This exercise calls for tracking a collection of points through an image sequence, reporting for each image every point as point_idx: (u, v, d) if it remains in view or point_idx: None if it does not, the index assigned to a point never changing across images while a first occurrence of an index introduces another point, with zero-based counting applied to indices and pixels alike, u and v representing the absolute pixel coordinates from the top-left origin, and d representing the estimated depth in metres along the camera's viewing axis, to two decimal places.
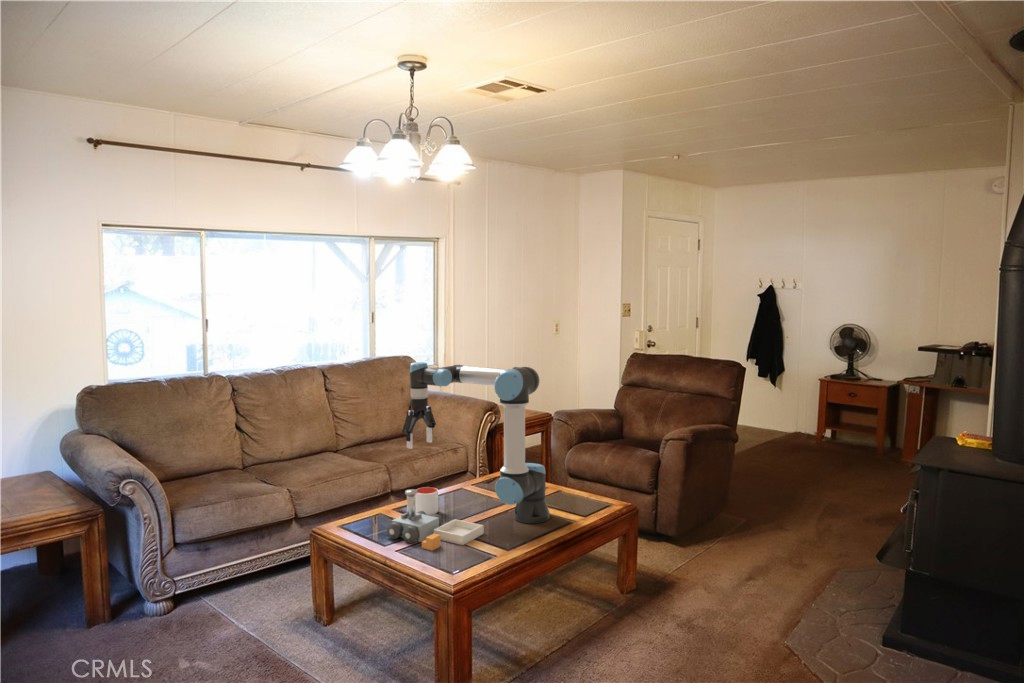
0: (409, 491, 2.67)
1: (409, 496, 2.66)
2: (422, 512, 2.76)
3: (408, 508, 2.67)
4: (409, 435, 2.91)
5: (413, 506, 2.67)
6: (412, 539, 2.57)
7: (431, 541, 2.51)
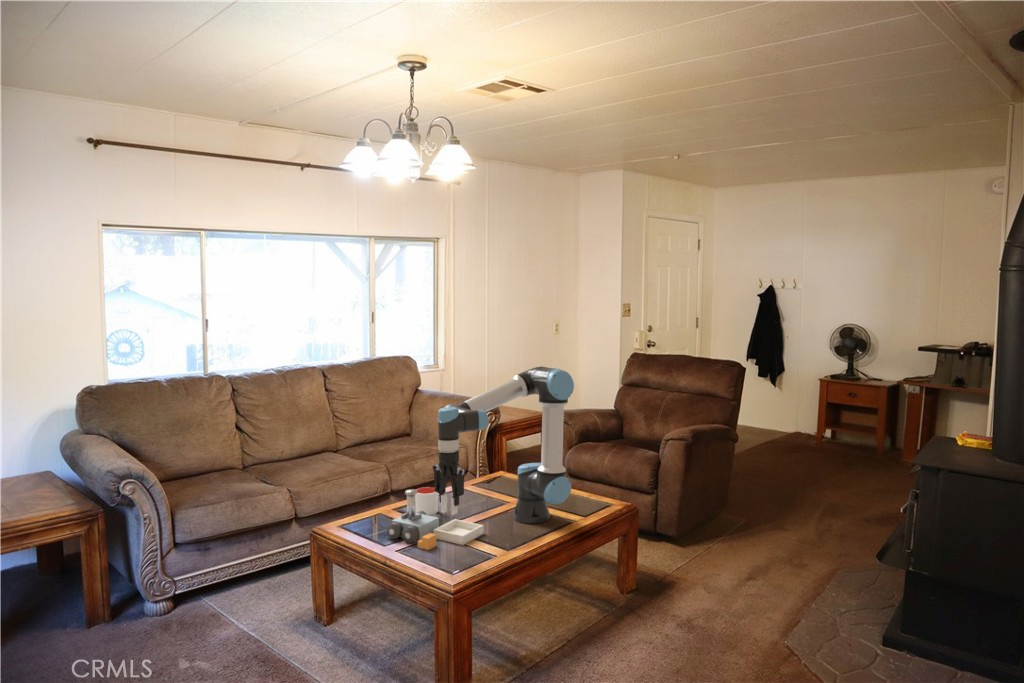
0: (409, 491, 2.67)
1: (409, 496, 2.66)
2: (422, 512, 2.76)
3: (408, 508, 2.67)
4: (440, 496, 2.49)
5: (413, 506, 2.67)
6: (412, 539, 2.57)
7: (427, 541, 2.51)
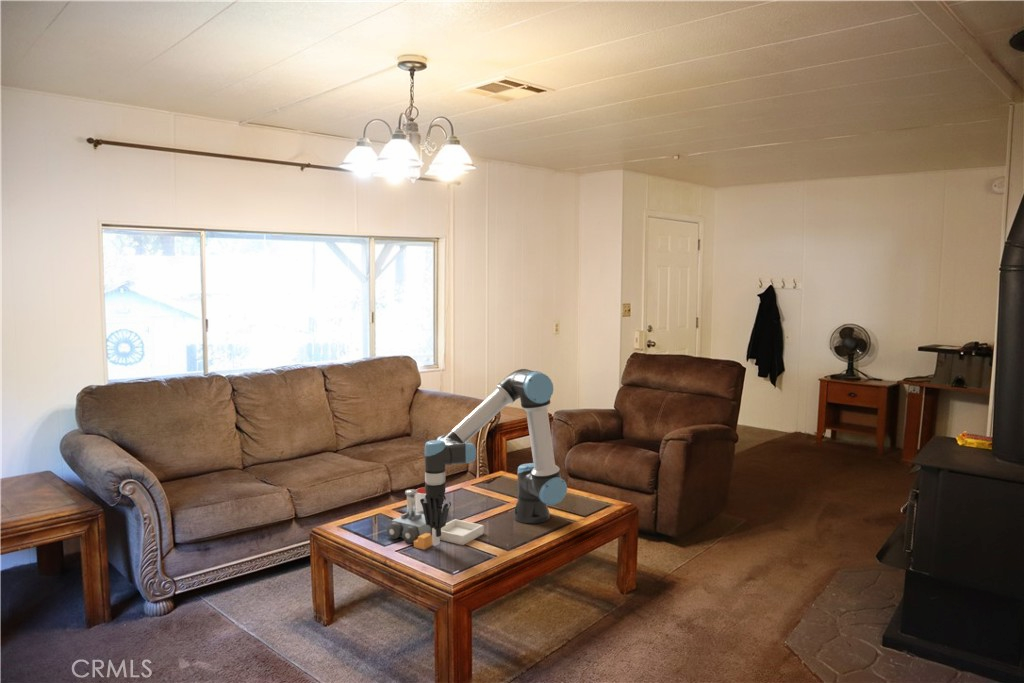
0: (409, 491, 2.67)
1: (409, 496, 2.66)
2: (422, 512, 2.76)
3: (408, 508, 2.67)
4: (431, 529, 2.52)
5: (413, 506, 2.67)
6: (412, 539, 2.57)
7: (423, 540, 2.52)
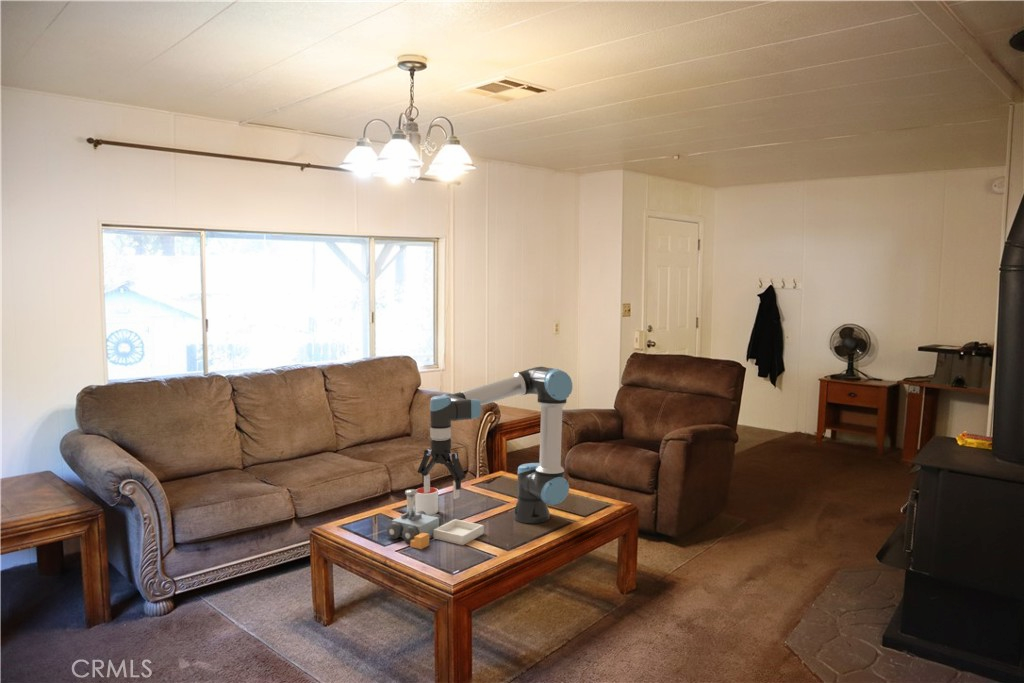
0: (409, 491, 2.67)
1: (409, 496, 2.66)
2: (422, 512, 2.76)
3: (408, 508, 2.67)
4: (423, 477, 2.53)
5: (413, 506, 2.67)
6: (412, 539, 2.57)
7: (420, 540, 2.52)
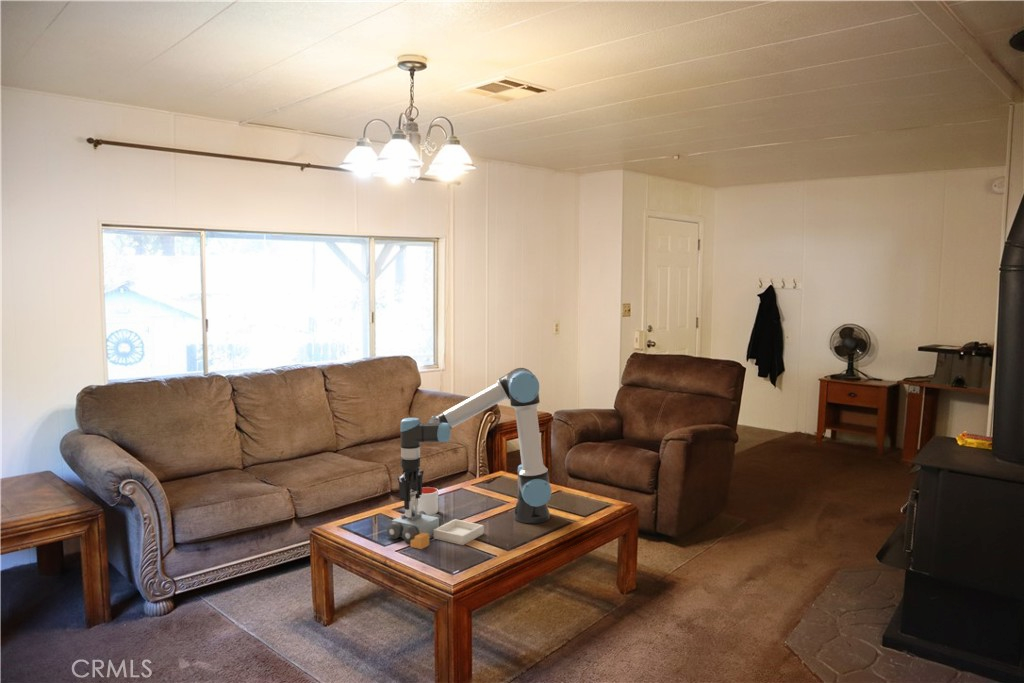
0: None
1: None
2: (422, 512, 2.76)
3: None
4: (408, 503, 2.65)
5: (413, 506, 2.67)
6: (412, 539, 2.57)
7: (420, 540, 2.52)
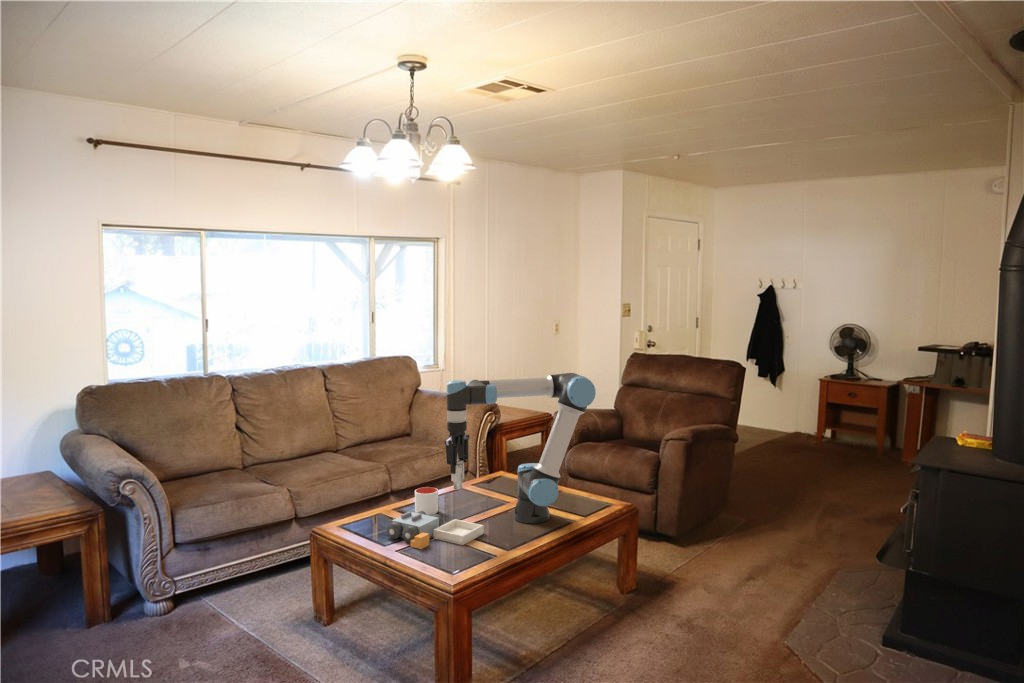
0: None
1: None
2: (422, 512, 2.76)
3: None
4: (454, 467, 2.60)
5: (460, 476, 2.62)
6: (412, 539, 2.57)
7: (420, 540, 2.52)
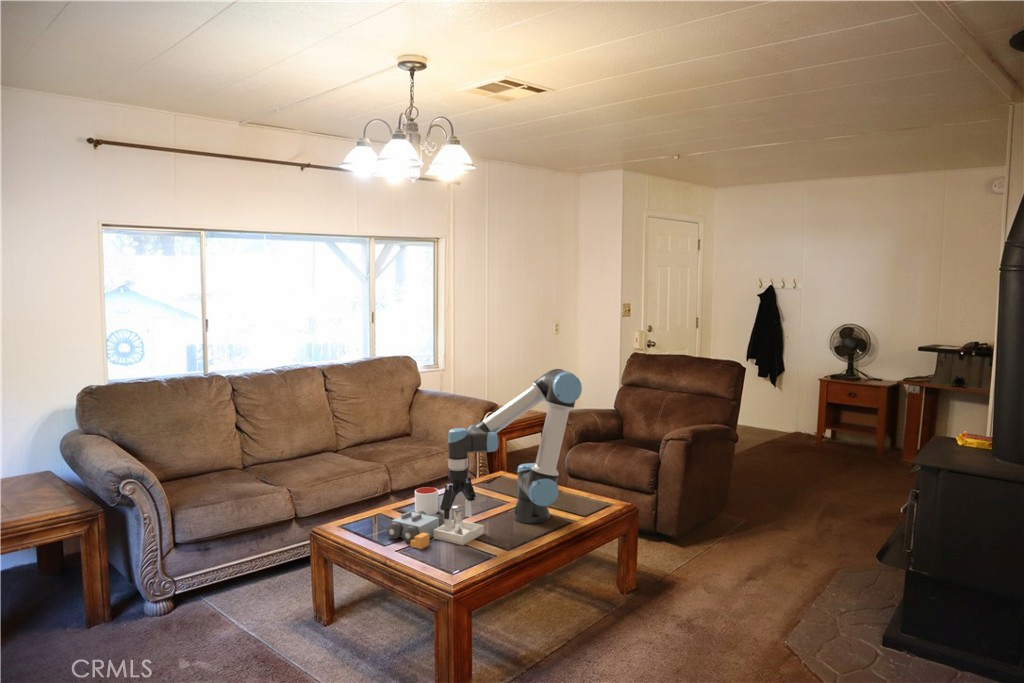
0: (456, 507, 2.64)
1: (456, 512, 2.63)
2: (422, 512, 2.76)
3: (455, 524, 2.64)
4: (448, 512, 2.58)
5: (460, 522, 2.64)
6: (412, 539, 2.57)
7: (420, 540, 2.52)
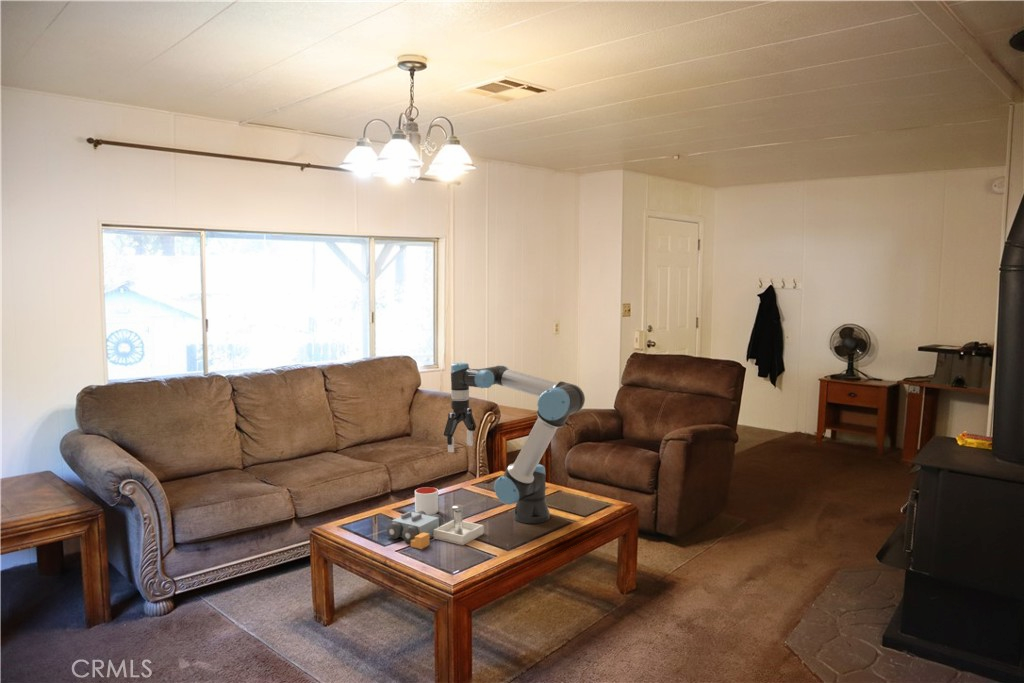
0: (456, 507, 2.64)
1: (456, 512, 2.63)
2: (422, 512, 2.76)
3: (455, 524, 2.64)
4: (451, 438, 2.81)
5: (460, 522, 2.64)
6: (412, 539, 2.57)
7: (420, 540, 2.52)
